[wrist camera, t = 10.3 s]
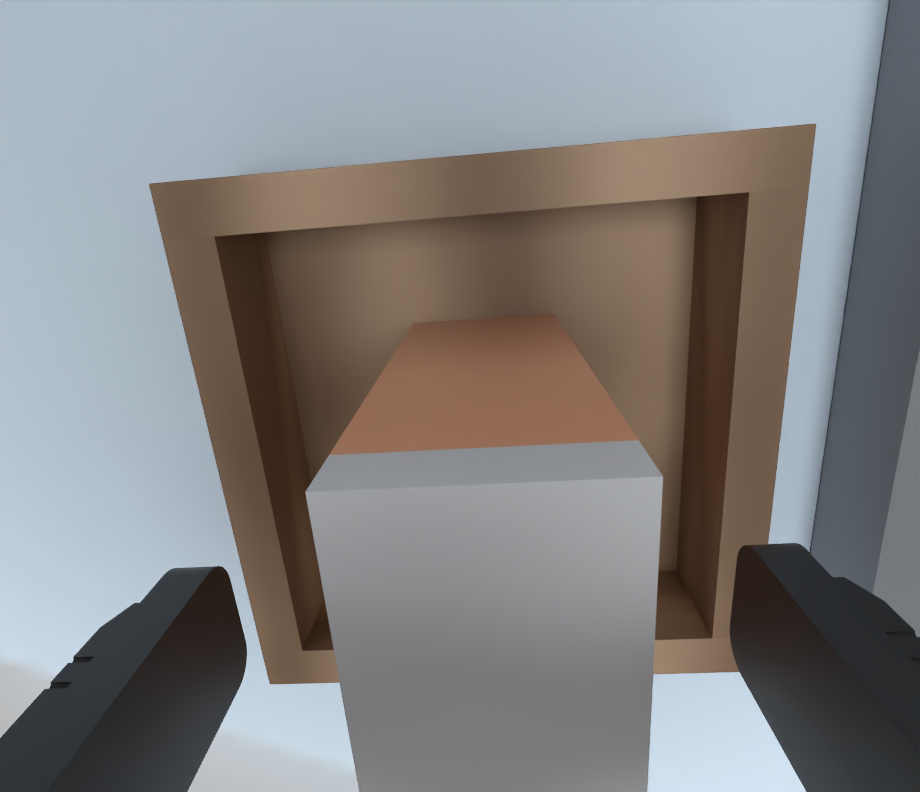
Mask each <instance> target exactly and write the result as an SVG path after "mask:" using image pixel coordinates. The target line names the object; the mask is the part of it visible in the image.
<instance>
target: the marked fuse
mask: <svg viewBox="0 0 920 792" xmlns="http://www.w3.org/2000/svg"><path fill="white" fill-rule="evenodd" d="M662 488H663V476H662V474H661V473H660V471H659V470H658V468H657V467H656V465H655V464H654V462H653V461H652V459H651V458H650V456H649V455H648V453H647V452H646V450H645V449H644V447H643V446H642V444H641V443H640V441H639V440H638V438H637V437H636V435H635V434H634V432H633V431H632V429H631V428H630V426H629V425H628V423H627V422H626V420H625V419H624V417H623V416H622V414H621V413H620V411H619V410H618V409H617V407H616V406H615V404H614V403H613V401H612V400H611V398H610V397H609V395H608V394H607V392H606V391H605V389H604V388H603V386H602V385H601V383H600V382H599V380H598V379H597V377H596V376H595V374H594V373H593V371H592V370H591V368H590V367H589V365H588V364H587V362H586V361H585V359H584V358H583V356H582V355H581V353H580V352H579V350H578V349H577V347H576V346H575V344H574V343H573V341H572V340H571V338H570V337H569V335H568V334H567V332H566V331H565V329H564V328H563V326H562V325H561V323H560V322H559V321H558V319H557V318H556V316H555V315H554V314H546V315H530V316H514V317H498V318H482V319H467V320H451V321H435V322H419V323H413V325H412V326H411V328H410V329H409V331H408V332H407V334H406V336H405V337H404V339H403V340H402V342H401V343H400V345H399V347H398V348H397V350H396V351H395V353H394V354H393V356H392V357H391V359H390V361H389V362H388V364H387V365H386V367H385V368H384V370H383V372H382V373H381V375H380V376H379V378H378V379H377V381H376V382H375V384H374V386H373V387H372V389H371V390H370V392H369V393H368V395H367V397H366V398H365V400H364V401H363V403H362V404H361V406H360V407H359V409H358V411H357V412H356V414H355V415H354V417H353V418H352V420H351V422H350V423H349V425H348V426H347V428H346V429H345V431H344V432H343V434H342V436H341V437H340V439H339V440H338V442H337V443H336V445H335V447H334V448H333V450H332V451H331V453H330V454H329V456H328V457H327V459H326V461H325V462H324V464H323V465H322V467H321V468H320V470H319V472H318V473H317V475H316V476H315V478H314V479H313V481H312V482H311V484H310V486H309V487H308V489H307V490H306V492H305V493H306V499H307V504H308V510H309V515H310V521H311V527H312V532H313V538H314V543H315V549H316V554H317V560H318V565H319V571H320V576H321V582H322V587H323V593H324V598H325V604H326V609H327V615H328V621H329V626H330V632H331V637H332V643H333V648H334V654H335V659H336V665H337V670H338V676H339V681H340V687H341V692H342V698H343V704H344V709H345V715H346V720H347V726H348V731H349V737H350V742H351V748H352V753H353V759H354V764H355V770H356V775H357V781H358V786H359V792H647V784H648V764H649V745H650V725H651V705H652V685H653V666H654V646H655V626H656V607H657V587H658V567H659V547H660V528H661V508H662Z"/></svg>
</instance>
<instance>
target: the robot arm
mask: <svg viewBox="0 0 920 792" xmlns="http://www.w3.org/2000/svg"><path fill="white" fill-rule="evenodd" d="M730 641H731V647H732V652H733V655H734V659H735V662H736V665H737V667H738V669H739V671H740V673H741V675H742V677H743V679H744V681H745V682H746V684H747V686H748V688H749V690H750V691H751V693H752V695H753V697H754V699H755V700H756V702H757V704H758V706H759V708H760V709H761V711H762V713H763V715H764V716H765V718H766V720H767V722H768V724H769V725H770V727H771V729H772V731H773V733H774V734H775V736H776V738H777V740H778V741H779V743H780V745H781V747H782V749H783V750H784V752H785V754H786V756H787V758H788V759H789V761H790V763H791V765H792V767H793V768H794V770H795V772H796V774H797V775H798V777H799V779H800V781H801V783H802V784H803V786H804V788H805V790H806V792H920V637H917V636H916V634H915V630H914V629H913V628H912V627H911V626H910V625H909V624H908V623H907V622H905V621H904V620H903V619H902V618H901V617H900V616H899V615H898V614H897V613H896V612H895V611H894V610H893V609H892V608H891V607H890V606H889V605H888V604H887V603H886V602H885V601H884V600H882V599H880V598H879V597H877V596H875V595H874V594H872V593H870V592H869V591H867V590H865V589H864V588H862V587H860V586H858V585H857V584H855V583H853V582H852V581H850V580H848V579H847V578H845V577H832V576H831V575H830V574H829V573H828V572H827V571H826V570H825V569H824V567H823V566H822V565H821V564H820V563H819V562H818V561H817V560H816V559H815V558H814V557H813V556H812V555H811V554H810V553H809V552H808V551H807V550H806V549H805V548H804V547H803V546H801V545H800V544H797V543H787V544H764V545H744V546H742V547H741V548H740V550H739V552H738V555H737V562H736V571H735V581H734V590H733V600H732V609H731V619H730ZM246 659H247V648H246V641H245V637H244V633H243V629H242V625H241V621H240V617H239V613H238V609H237V605H236V601H235V597H234V593H233V589H232V585H231V581H230V578H229V575H228V573H227V571H226V570H225V569H224V568H223V567H220V566H217V567H194V568H174V569H171V570H169V571H168V572H167V573H166V574H165V575H164V576H163V577H162V578H161V579H160V580H159V581H158V583H157V584H156V585H155V586H154V587H153V588H152V590H151V591H150V592H149V593H148V594H147V595H146V597H145V598H144V599H143V600H142V601H141V602H140V603H134V604H133V605H131V606H130V607H129V608H127V609H126V610H124V611H123V612H122V613H120V614H119V615H117V616H116V617H115V618H113V619H112V620H110V621H109V622H107V623H106V624H105V625H103V626H102V627H100V628H99V629H98V631H97V632H96V633H95V634H94V635H93V636H92V637H91V638H90V639H89V641H88V642H87V643H86V644H85V645H84V646H83V647H82V648H81V649H80V651H79V652H78V653H77V654H76V655H75V656H74V660H73V662H72V663H68V664H67V665H66V666H65V667H64V668H63V669H62V670H61V672H60V673H59V674H58V675H57V676H56V677H55V678H54V679H53V680H52V682H51V686H50V688H49V689H45V690H44V691H43V692H42V693H41V694H40V695H39V696H38V697H37V698H36V699H35V700H34V701H33V703H32V704H31V705H30V706H29V707H28V708H27V709H26V710H25V711H24V713H23V714H22V715H21V716H20V717H19V718H18V719H17V720H16V721H15V723H14V724H13V725H12V726H11V727H10V728H9V729H8V730H7V731H6V733H5V734H4V735H3V736H2V737H1V738H0V792H187V791H188V789H189V787H190V785H191V783H192V781H193V779H194V777H195V775H196V773H197V771H198V769H199V767H200V765H201V763H202V761H203V759H204V757H205V755H206V753H207V751H208V749H209V747H210V745H211V743H212V741H213V739H214V737H215V735H216V733H217V731H218V729H219V727H220V725H221V723H222V721H223V719H224V717H225V715H226V713H227V711H228V709H229V707H230V705H231V703H232V701H233V699H234V697H235V695H236V693H237V691H238V689H239V687H240V685H241V682H242V679H243V676H244V672H245V667H246Z"/></svg>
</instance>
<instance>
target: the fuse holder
mask: <svg viewBox="0 0 920 792" xmlns="http://www.w3.org/2000/svg"><path fill="white" fill-rule="evenodd" d="M810 554H811V555H812V556H813V557H814V558H815V559H816V560H817V561H818V562H819V563H820V564H821V565H822V566H823V567H824V569H825V570H826V571H827V572H828V573H829V574H830V575H831V576H832V577H845V578H847V579H848V580H850V581H852V582H853V583H855V584H857V585H858V586H860V587H862V588H864V589H865V590H867V591H869V592H870V593H872V594H874V595H875V596H877V597H879V598H880V599H882V600H884V601H885V602H886V603H887V604H888V605H889V606H890V607H891V608H892V609H893V610H894V611H895V612H896V613H897V614H898V615H899V616H900V617H901V618H902V619H903V620H904V621H905V622H907V623H908V624H909V625H910V626H911V627H912V628H913V629H914V630H915V634H916V636H917V637H920V0H890V4H889V11H888V18H887V25H886V32H885V39H884V45H883V52H882V59H881V66H880V73H879V80H878V87H877V94H876V101H875V108H874V115H873V122H872V129H871V136H870V143H869V149H868V156H867V163H866V170H865V177H864V184H863V191H862V198H861V205H860V212H859V219H858V226H857V233H856V240H855V247H854V254H853V260H852V267H851V274H850V281H849V288H848V295H847V302H846V309H845V316H844V323H843V330H842V337H841V344H840V351H839V358H838V365H837V371H836V378H835V385H834V392H833V399H832V406H831V413H830V420H829V427H828V434H827V441H826V448H825V455H824V462H823V469H822V476H821V482H820V489H819V496H818V503H817V510H816V517H815V524H814V531H813V538H812V545H811V552H810Z"/></svg>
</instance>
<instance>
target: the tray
mask: <svg viewBox="0 0 920 792" xmlns="http://www.w3.org/2000/svg"><path fill="white" fill-rule="evenodd" d="M815 129H816V124H807V125H796V126H785V127H773V128H762V129H751V130H740V131H729V132H718V133H707V134H696V135H685V136H674V137H663V138H652V139H640V140H629V141H618V142H607V143H596V144H585V145H574V146H563V147H552V148H541V149H530V150H519V151H507V152H496V153H485V154H474V155H463V156H452V157H441V158H430V159H419V160H408V161H397V162H386V163H374V164H363V165H352V166H341V167H330V168H319V169H308V170H297V171H286V172H275V173H264V174H253V175H241V176H230V177H219V178H208V179H197V180H186V181H175V182H164V183H153V184H149V186H150V190H151V194H152V198H153V202H154V207H155V211H156V215H157V219H158V223H159V227H160V231H161V236H162V240H163V244H164V248H165V252H166V256H167V260H168V265H169V269H170V273H171V277H172V281H173V285H174V289H175V294H176V298H177V302H178V306H179V310H180V314H181V318H182V323H183V327H184V331H185V335H186V339H187V343H188V347H189V351H190V356H191V360H192V364H193V368H194V372H195V376H196V380H197V385H198V389H199V393H200V397H201V401H202V405H203V409H204V414H205V418H206V422H207V426H208V430H209V434H210V438H211V443H212V447H213V451H214V455H215V459H216V463H217V467H218V472H219V476H220V480H221V484H222V488H223V492H224V496H225V501H226V505H227V509H228V513H229V517H230V521H231V525H232V529H233V534H234V538H235V542H236V546H237V550H238V554H239V558H240V563H241V567H242V571H243V575H244V579H245V583H246V587H247V592H248V596H249V600H250V604H251V608H252V612H253V616H254V621H255V625H256V629H257V633H258V637H259V641H260V645H261V650H262V654H263V658H264V662H265V666H266V670H267V674H268V678H269V683H270V684H299V683H337V682H340V681H339V676H338V670H337V665H336V659H335V654H334V648H333V643H332V637H331V632H330V626H329V621H328V615H327V609H326V604H325V598H324V593H323V587H322V582H321V576H320V571H319V565H318V560H317V554H316V549H315V543H314V538H313V532H312V527H311V521H310V515H309V510H308V504H307V499H306V493H305V492H306V490H307V489H308V487H309V486H310V484H311V482H312V481H313V479H314V478H315V476H316V475H317V473H318V472H319V470H320V468H321V467H322V465H323V464H324V462H325V461H326V459H327V457H328V456H329V454H330V453H331V451H332V450H333V448H334V447H335V445H336V443H337V442H338V440H339V439H340V437H341V436H342V434H343V432H344V431H345V429H346V428H347V426H348V425H349V423H350V422H351V420H352V418H353V417H354V415H355V414H356V412H357V411H358V409H359V407H360V406H361V404H362V403H363V401H364V400H365V398H366V397H367V395H368V393H369V392H370V390H371V389H372V387H373V386H374V384H375V382H376V381H377V379H378V378H379V376H380V375H381V373H382V372H383V370H384V368H385V367H386V365H387V364H388V362H389V361H390V359H391V357H392V356H393V354H394V353H395V351H396V350H397V348H398V347H399V345H400V343H401V342H402V340H403V339H404V337H405V336H406V334H407V332H408V331H409V329H410V328H411V326H412V325H413V323H419V322H435V321H451V320H467V319H482V318H498V317H514V316H530V315H546V314H554V315H555V316H556V318H557V319H558V321H559V322H560V323H561V325H562V326H563V328H564V329H565V331H566V332H567V334H568V335H569V337H570V338H571V340H572V341H573V343H574V344H575V346H576V347H577V349H578V350H579V352H580V353H581V355H582V356H583V358H584V359H585V361H586V362H587V364H588V365H589V367H590V368H591V370H592V371H593V373H594V374H595V376H596V377H597V379H598V380H599V382H600V383H601V385H602V386H603V388H604V389H605V391H606V392H607V394H608V395H609V397H610V398H611V400H612V401H613V403H614V404H615V406H616V407H617V409H618V410H619V411H620V413H621V414H622V416H623V417H624V419H625V420H626V422H627V423H628V425H629V426H630V428H631V429H632V431H633V432H634V434H635V435H636V437H637V438H638V440H639V441H640V443H641V444H642V446H643V447H644V449H645V450H646V452H647V453H648V455H649V456H650V458H651V459H652V461H653V462H654V464H655V465H656V467H657V468H658V470H659V471H660V473H661V474H662V476H663V488H662V508H661V528H660V547H659V567H658V587H657V607H656V626H655V646H654V666H653V674H676V673H713V672H740V671H739V669H738V667H737V665H736V662H735V659H734V655H733V652H732V647H731V641H730V619H731V609H732V600H733V590H734V581H735V571H736V562H737V555H738V552H739V550H740V548H741V547H742V546H744V545H764V544H768V539H769V530H770V521H771V513H772V504H773V495H774V486H775V478H776V469H777V460H778V452H779V443H780V434H781V426H782V417H783V408H784V399H785V391H786V382H787V373H788V365H789V356H790V347H791V338H792V330H793V321H794V312H795V304H796V295H797V286H798V278H799V269H800V260H801V251H802V243H803V234H804V225H805V217H806V208H807V199H808V190H809V182H810V173H811V164H812V156H813V147H814V138H815Z"/></svg>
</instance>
